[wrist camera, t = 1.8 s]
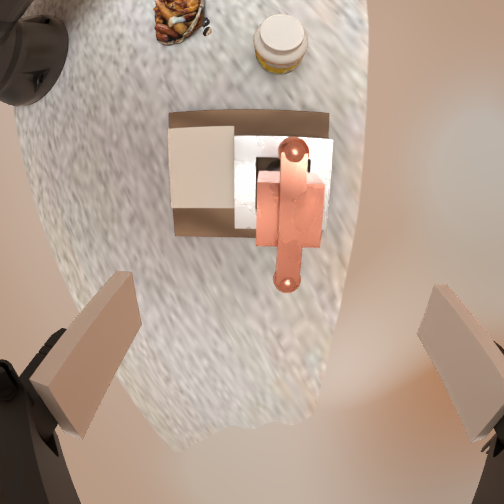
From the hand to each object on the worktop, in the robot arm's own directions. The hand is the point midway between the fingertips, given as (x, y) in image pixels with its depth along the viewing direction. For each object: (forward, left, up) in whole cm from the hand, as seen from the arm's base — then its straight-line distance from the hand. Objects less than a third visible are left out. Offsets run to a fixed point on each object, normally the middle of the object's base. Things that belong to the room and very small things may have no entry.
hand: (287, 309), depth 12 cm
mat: (-2, -9, -26) cm, 27 cm away
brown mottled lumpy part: (-24, -12, -28) cm, 39 cm away
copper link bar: (-1, +1, -26) cm, 26 cm away
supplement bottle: (-16, 0, -27) cm, 31 cm away
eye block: (-1, +1, -26) cm, 26 cm away
